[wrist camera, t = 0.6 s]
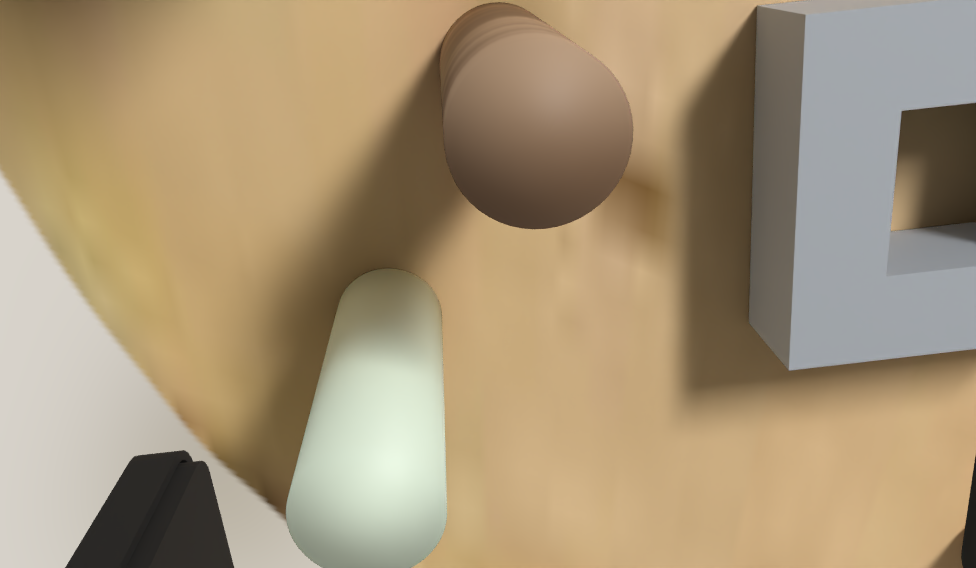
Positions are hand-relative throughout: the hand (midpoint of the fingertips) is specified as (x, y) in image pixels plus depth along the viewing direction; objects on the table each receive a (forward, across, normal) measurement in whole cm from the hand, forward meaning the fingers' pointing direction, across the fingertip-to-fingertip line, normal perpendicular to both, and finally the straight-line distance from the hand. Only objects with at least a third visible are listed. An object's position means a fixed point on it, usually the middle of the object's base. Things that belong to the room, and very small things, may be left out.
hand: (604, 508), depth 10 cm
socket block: (+21, -16, +2) cm, 26 cm away
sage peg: (+21, +4, +6) cm, 23 cm away
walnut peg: (+21, 0, -3) cm, 21 cm away
